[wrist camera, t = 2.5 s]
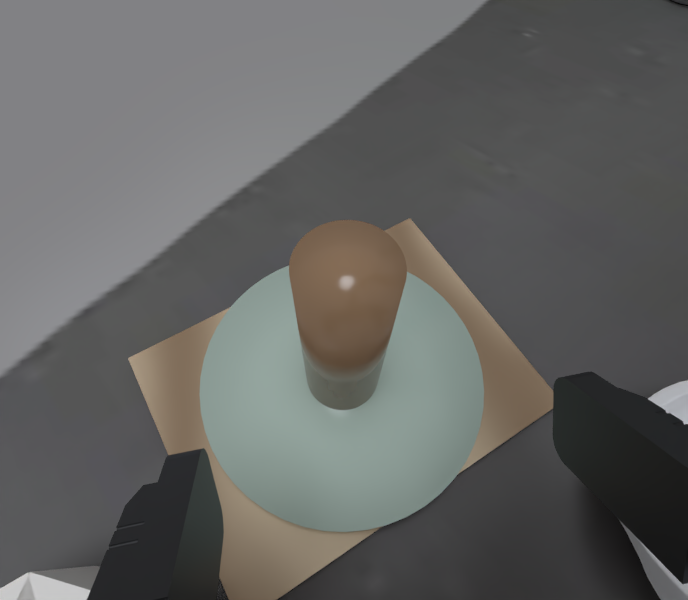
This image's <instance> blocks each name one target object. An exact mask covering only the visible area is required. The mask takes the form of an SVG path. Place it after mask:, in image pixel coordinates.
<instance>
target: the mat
mask: <svg viewBox="0 0 688 600" xmlns="http://www.w3.org/2000/svg"><path fill="white" fill-rule="evenodd" d="M385 232H386V233H388V234H389V235H390V236H391V237H392V238H393V239H394V240H395V241H396V242H397V244H398V245H399V247H400V248H401V250H402V252H403V254H404V257H405V260H406V265H407V272H409V273H411V274H412V275H414V276H416V277H418V278H419V279H421V280H422V281H424V282H425V283H427V284H428V285H429V286H431V287H432V288H433V289H434V290H435V291H437V292H438V293H439V294H440V295H441V296H442V297H443V298H444V299H445V300H446V301H447V302H448V303H449V304H450V305H451V307H452V308H453V309H454V310H455V311H456V313H457V314H458V316H459V317H460V319H461V320H462V321H463V323H464V324H465V326H466V328H467V330H468V332H469V334H470V336H471V338H472V340H473V342H474V345H475V348H476V350H477V353H478V356H479V360H480V365H481V369H482V374H483V384H484V406H483V414H482V419H481V425H480V429H479V432H478V435H477V438H476V441H475V444H474V446H473V448H472V451H471V453H470V455H469V457H468V459H467V461H466V463H465V464H464V466H463V467H462V468H461V470H460V471H459V473H460V472H462V471H463V470H465V469H466V468H468V467H469V466H471V465H472V464H473V463H475V462H476V461H478V460H479V459H481V458H482V457H484V456H485V455H486V454H488V453H489V452H491V451H492V450H494V449H495V448H496V447H498V446H499V445H501V444H502V443H504V442H505V441H507V440H508V439H509V438H511V437H512V436H514V435H515V434H517V433H518V432H520V431H521V430H522V429H524V428H525V427H527V426H528V425H530V424H531V423H533V422H534V421H535V420H537V419H538V418H540V417H541V416H543V415H544V414H546V413H547V412H548V411H550V410H551V409H553V390H552V389H551V388H550V387H549V385H548V384H547V383H546V382H545V381H544V379H543V378H542V377H541V376H540V375H539V373H538V372H537V371H536V370H535V369H534V367H533V366H532V365H531V364H530V362H529V361H528V360H527V359H526V358H525V356H524V355H523V354H522V353H521V352H520V350H519V349H518V348H517V347H516V346H515V344H514V343H513V342H512V341H511V340H510V338H509V337H508V336H507V335H506V334H505V332H504V331H503V330H502V329H501V327H500V326H499V325H498V324H497V323H496V321H495V320H494V319H493V318H492V317H491V315H490V314H489V313H488V312H487V311H486V309H485V308H484V307H483V306H482V305H481V303H480V302H479V301H478V300H477V299H476V297H475V296H474V295H473V294H472V292H471V291H470V290H469V289H468V288H467V286H466V285H465V284H464V283H463V282H462V280H461V279H460V278H459V277H458V276H457V274H456V273H455V272H454V271H453V270H452V268H451V267H450V266H449V265H448V264H447V262H446V261H445V260H444V259H443V257H442V256H441V255H440V254H439V253H438V251H437V250H436V249H435V248H434V247H433V245H432V244H431V243H430V242H429V241H428V239H427V238H426V237H425V236H424V235H423V233H422V232H421V231H420V230H419V229H418V227H417V226H416V225H415V224H414V222H413V221H412V220H411V219H410V218H409V219H407V220H405V221H403V222H401V223H399V224H397V225H395V226H393V227H391V228H389V229H387V230H385ZM230 308H231V307H230ZM230 308H228V309H226V310H224V311H222V312H220V313H218V314H216V315H214V316H212V317H210V318H208V319H206V320H204V321H202V322H200V323H198V324H196V325H194V326H192V327H190V328H188V329H186V330H184V331H182V332H180V333H178V334H176V335H174V336H172V337H170V338H168V339H166V340H164V341H162V342H160V343H158V344H156V345H154V346H152V347H150V348H148V349H146V350H144V351H142V352H140V353H138V354H136V355H134V356H132V357H130V358H128V359H129V361H130V364H131V366H132V369H133V371H134V373H135V376H136V378H137V381H138V383H139V385H140V388H141V390H142V393H143V395H144V397H145V400H146V402H147V405H148V407H149V409H150V412H151V414H152V417H153V419H154V421H155V424H156V426H157V429H158V431H159V433H160V436H161V438H162V441H163V443H164V445H165V448H166V450H167V453H168V455H172V454H177V453H182V452H187V451H192V450H197V449H202V448H204V449H205V450H206V452H207V454H208V457H209V461H210V465H211V469H212V473H213V477H214V481H215V484H216V488H217V492H218V496H219V500H220V504H221V508H222V514H223V525H224V537H223V546H222V555H221V564H220V572H219V577H220V580H221V582H222V584H223V587H224V589H225V592H226V594H227V596H228V599H229V600H277V599H278V598H280V597H281V596H283V595H284V594H286V593H287V592H289V591H290V590H291V589H293V588H294V587H296V586H297V585H299V584H300V583H302V582H303V581H304V580H306V579H307V578H309V577H310V576H312V575H313V574H315V573H316V572H317V571H319V570H320V569H322V568H323V567H325V566H326V565H328V564H329V563H330V562H332V561H333V560H335V559H336V558H338V557H339V556H341V555H342V554H343V553H345V552H346V551H348V550H349V549H351V548H352V547H354V546H355V545H356V544H358V543H359V542H361V541H362V540H364V539H365V538H367V537H368V536H369V535H371V534H372V533H374V532H375V531H377V530H378V529H380V528H381V527H382V526H381V527H377V528H373V529H369V530H364V531H354V532H329V531H321V530H316V529H311V528H306V527H302V526H300V525H297V524H294V523H291V522H288V521H286V520H283V519H281V518H280V517H278V516H276V515H274V514H272V513H270V512H268V511H266V510H265V509H263V508H262V507H260V506H259V505H258V504H256V503H255V502H254V501H252V500H251V499H250V498H248V497H247V496H246V495H245V494H244V493H243V492H242V491H241V490H240V489H239V488H238V487H237V486H236V485H235V484H234V483H233V482H232V480H231V479H230V478H229V476H228V475H227V474H226V472H225V471H224V470H223V468H222V467H221V465H220V464H219V462H218V460H217V458H216V456H215V454H214V453H213V451H212V449H211V446H210V443H209V441H208V438H207V435H206V433H205V429H204V425H203V420H202V416H201V408H200V395H199V394H200V376H201V371H202V366H203V361H204V357H205V354H206V351H207V348H208V345H209V342H210V340H211V338H212V336H213V334H214V332H215V330H216V328H217V326H218V325H219V323H220V322H221V320H222V318H223V317H224V315H225V314H226V312H227V311H228V310H229V309H230ZM459 473H458V474H459ZM458 474H457V475H458Z"/></svg>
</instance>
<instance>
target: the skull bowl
mask: <svg viewBox="0 0 688 600" xmlns="http://www.w3.org/2000/svg"><path fill="white" fill-rule="evenodd" d="M648 400H650V401H652V402H653V403H655V404H656V405H658V406H660V407H661V408H663V409H664V410H666V413H671V414H672V415H674V416H675V417H677V418H679V419H680V420H682V421H683V423H684V425H685V424H688V380H686V381H682V382H678V383H676V384H673V385H670V386H668V387H666V388H664V389H662V390H660V391H658V392H657V393H655V394H653V395H652V396H651V397H649V398H648ZM620 522H621V521H620ZM621 524H622V526H623V528H624V529H625V531H626V533H627V534H628V536H629V538H630V540H631V543H632V544H633V546H634V548H635V550H636V552H637V554H638V556H639V559H640V561H641V563H642V566H643V568H644V571H645V573H646V575H647V578H648V579H649V581H650V583H651V584H652V586H653V588H654V590H655V591H656V593H657V595H658V596H659V598H660V599H661V600H688V583H686V584H682V583H681V582H680V581H679V580H678V579H677V578H676V577H675V576H674V575H673V574H672V573H671V572H670V571H669V570H668V569H667V568H666V567H665V566H664V565H663V564H662V563H661V562H660V561H659V560H658V559H657V558H656V557H655V556H654V555H653V554H652V553H651V552H650V551H649V550H648V549H647V548H646V547H645V545H644V544H643V543H642V542H641V541H640V540H639V539H638V538H637V537H636V536H635V535H634V534H633V533H632V532H631V531H630V530H629V529H628V528H627V527H626V526H625V525H624V524H623V523H622V522H621Z"/></svg>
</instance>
